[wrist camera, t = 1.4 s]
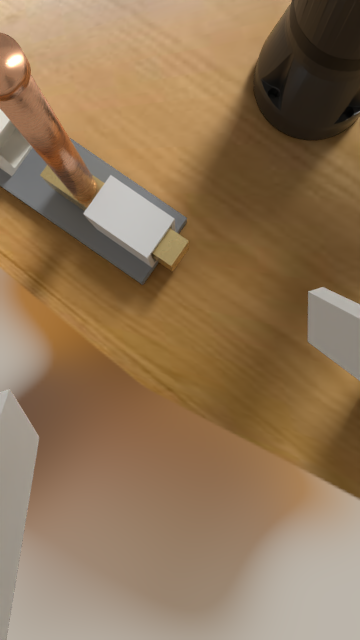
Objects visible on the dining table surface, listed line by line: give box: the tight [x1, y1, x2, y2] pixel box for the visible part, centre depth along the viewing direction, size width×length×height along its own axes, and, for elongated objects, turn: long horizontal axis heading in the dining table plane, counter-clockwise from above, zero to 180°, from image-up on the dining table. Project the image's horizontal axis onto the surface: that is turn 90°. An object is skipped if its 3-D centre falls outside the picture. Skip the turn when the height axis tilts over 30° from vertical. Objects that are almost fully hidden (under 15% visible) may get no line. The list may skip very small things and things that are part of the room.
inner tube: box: [0, 33, 189, 272], centre depth 28 cm, size 18×4×19 cm, turn 55°
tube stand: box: [0, 109, 187, 285], centre depth 37 cm, size 26×10×7 cm, turn 55°
